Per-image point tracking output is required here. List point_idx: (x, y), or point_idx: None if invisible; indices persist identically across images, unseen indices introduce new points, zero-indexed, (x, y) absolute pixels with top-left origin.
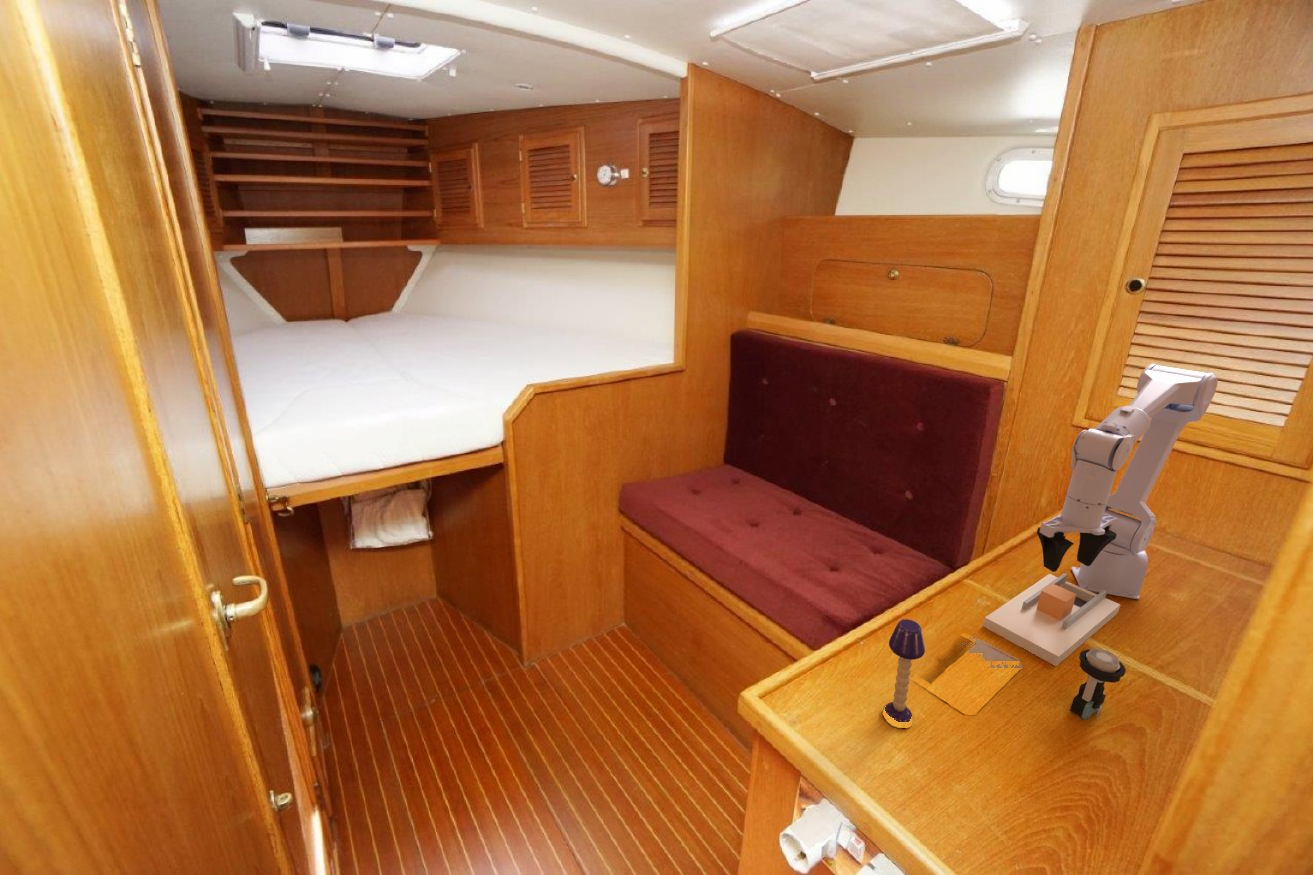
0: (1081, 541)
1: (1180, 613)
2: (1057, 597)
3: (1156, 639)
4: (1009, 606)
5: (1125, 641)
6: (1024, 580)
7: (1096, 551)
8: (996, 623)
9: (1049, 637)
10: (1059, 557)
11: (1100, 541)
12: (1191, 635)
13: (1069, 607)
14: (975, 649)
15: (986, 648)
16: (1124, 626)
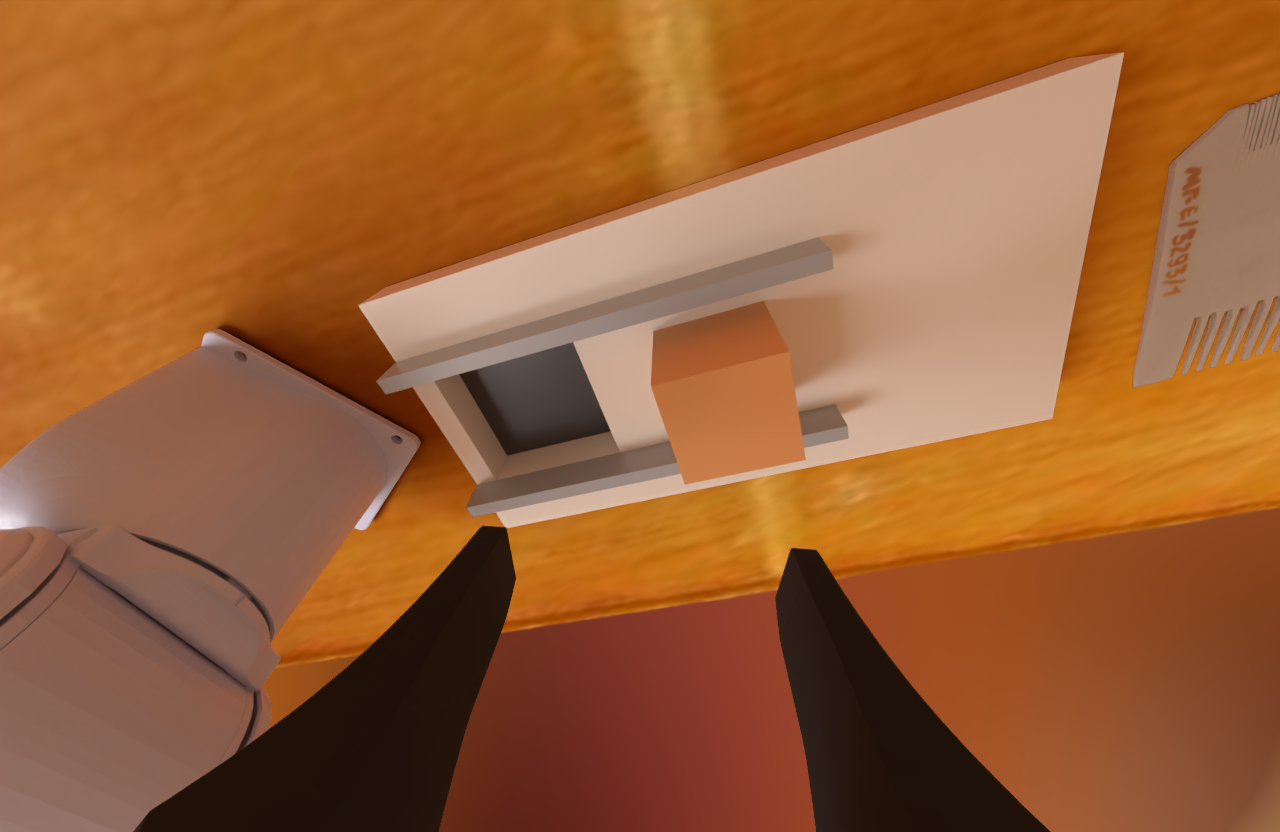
0: (458, 738)
1: (64, 194)
2: (790, 395)
3: (333, 61)
4: (872, 438)
5: (515, 106)
6: (590, 525)
7: (434, 645)
8: (1060, 375)
9: (964, 214)
10: (893, 680)
11: (368, 781)
12: (103, 21)
13: (698, 340)
14: (1251, 290)
15: (1205, 279)
16: (424, 204)
